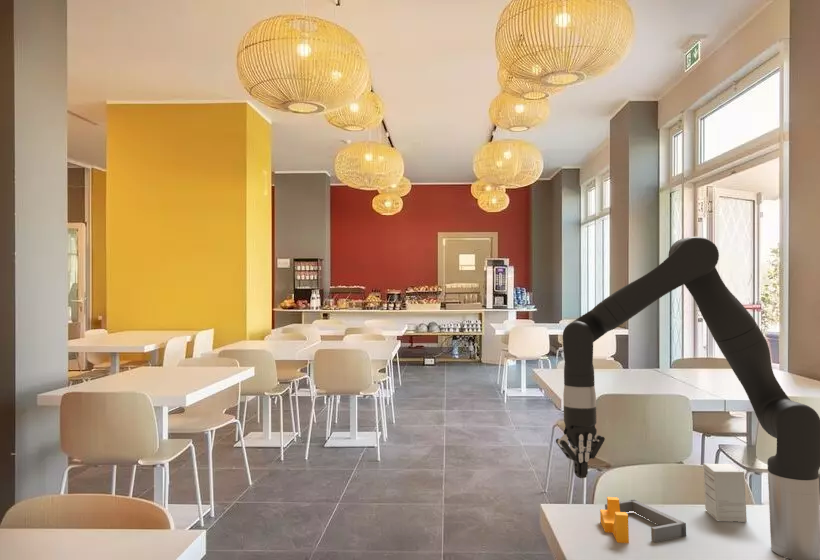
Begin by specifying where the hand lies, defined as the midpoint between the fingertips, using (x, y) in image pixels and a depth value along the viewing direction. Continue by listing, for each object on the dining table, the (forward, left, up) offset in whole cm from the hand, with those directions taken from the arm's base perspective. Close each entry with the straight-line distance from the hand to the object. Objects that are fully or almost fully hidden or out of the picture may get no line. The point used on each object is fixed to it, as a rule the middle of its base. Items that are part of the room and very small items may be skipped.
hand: (581, 477), depth 129 cm
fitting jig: (-18, 0, -14) cm, 23 cm away
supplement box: (-42, +3, -14) cm, 44 cm away
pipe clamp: (-9, +1, -14) cm, 17 cm away
